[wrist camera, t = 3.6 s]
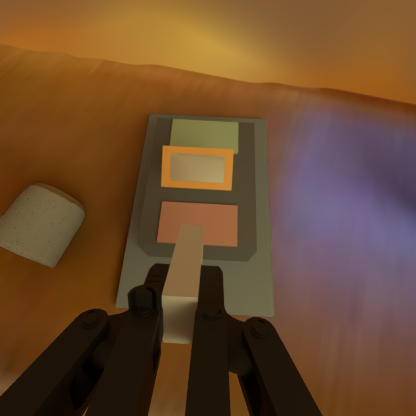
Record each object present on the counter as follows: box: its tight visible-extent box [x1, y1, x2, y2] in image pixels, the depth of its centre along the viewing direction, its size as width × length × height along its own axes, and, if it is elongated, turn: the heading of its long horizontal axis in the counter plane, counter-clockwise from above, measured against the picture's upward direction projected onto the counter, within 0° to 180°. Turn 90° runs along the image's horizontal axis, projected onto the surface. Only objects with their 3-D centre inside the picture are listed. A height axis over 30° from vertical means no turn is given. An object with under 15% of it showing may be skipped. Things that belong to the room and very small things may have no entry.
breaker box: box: [115, 113, 274, 317], centre depth 32 cm, size 28×18×8 cm, turn 177°
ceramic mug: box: [0, 183, 86, 268], centre depth 30 cm, size 11×8×8 cm
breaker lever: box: [161, 146, 234, 191], centre depth 23 cm, size 3×5×9 cm, turn 87°
